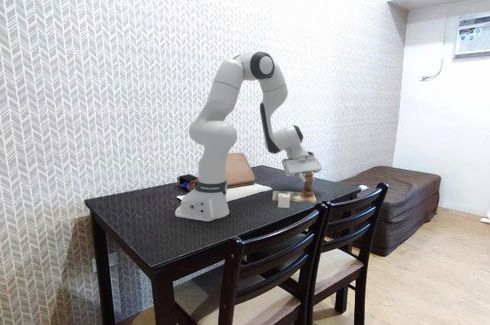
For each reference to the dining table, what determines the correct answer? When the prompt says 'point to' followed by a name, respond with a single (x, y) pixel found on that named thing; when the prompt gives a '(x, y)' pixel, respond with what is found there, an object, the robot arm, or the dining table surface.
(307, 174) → the pawn
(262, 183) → the dining table surface
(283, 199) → the die
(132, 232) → the dining table surface
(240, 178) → the case
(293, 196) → the board
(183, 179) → the figurine character
